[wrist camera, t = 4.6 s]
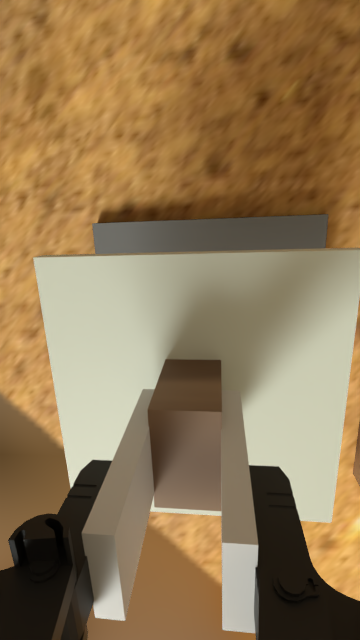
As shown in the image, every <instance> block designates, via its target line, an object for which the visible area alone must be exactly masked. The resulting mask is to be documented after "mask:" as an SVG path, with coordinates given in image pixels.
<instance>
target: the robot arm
mask: <svg viewBox="0 0 360 640" xmlns="http://www.w3.org/2000/svg"><path fill="white" fill-rule="evenodd" d="M154 390H155V389H143V390H142V392H141V395H140V397H139V399H138V402H137V404H136V406H135V409H134V411H133V413H132V416H131V418H130V420H129V423H128V425H127V427H126V430H125V432H124V434H123V437H122V439H121V442H120V444H119V446H118V449H117V451H116V453H115V456H114V458H113V460H112V461H111V460H92V461H91V462H89V463H88V464H87V465H86V466H85V467H84V468H83V469H82V470H81V471H80V473H79V474H78V476H77V478H76V480H75V482H74V484H73V487H72V488H71V489H70V491H69V493H68V497H67V498H66V499H65V501H64V503H63V504H62V506H61V508H60V510H59V512H58V514H57V515H56V514H44V515H39V516H36V517H34V518H32V519H30V520H28V521H26V522H24V523H23V524H22V525H21V526H19V527H18V528H17V529H16V530H15V531H14V533H13V534H12V535H11V537H10V538H9V540H8V541H9V545H10V549H11V553H12V557H13V561H14V565H15V566H14V567H10V568H8V569H5V570H1V571H0V640H87V636H88V635H87V634H88V631H87V625H86V623H87V620H88V617H89V614H90V611H91V608H92V605H93V607H94V613H95V618H103V619H114V620H124V621H125V619H126V615H127V610H128V606H129V601H130V597H131V593H132V588H133V584H134V579H135V575H136V571H137V566H138V561H139V558H140V553H141V549H142V545H143V540H144V535H145V531H146V527H147V523H148V518H149V514H150V509H151V505H152V501H153V496H154V482H153V469H152V456H151V444H150V431H149V425H148V411H147V410H148V407H149V404H150V401H151V398H152V396H153V393H154ZM221 515H222V621H223V622H222V627H223V628H222V630H228V631H239V632H249V633H255V632H256V640H360V601H358V600H355V599H353V598H350V597H348V596H346V595H344V594H342V593H340V592H338V591H336V590H335V589H333V588H332V587H331V586H329V585H328V584H327V583H326V582H325V581H324V580H323V579H322V578H321V577H320V576H319V575H318V573H317V571H316V570H315V568H314V567H313V565H312V562H311V559H310V557H309V553H308V549H307V545H306V541H305V537H304V534H303V530H302V526H301V522H300V518H299V515H298V511H297V509H296V503H295V499H294V497H293V492H292V488H291V484H290V480H289V478H288V477H287V476H286V475H285V473H284V472H283V471H282V470H281V468H280V467H279V466H256V465H249V462H248V454H247V445H246V437H245V428H244V420H243V411H242V403H241V394H240V391H227V390H222V429H221Z"/></svg>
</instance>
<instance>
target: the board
mask: <svg viewBox="0 0 360 640" xmlns="http://www.w3.org/2000/svg"><path fill="white" fill-rule="evenodd" d="M353 474H354V476H355V478H356V480H357V482H358V484H359V486H360V424H359V431H358V439H357V447H356V455H355V462H354V470H353Z"/></svg>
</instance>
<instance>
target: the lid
mask: <svg viewBox="0 0 360 640" xmlns="http://www.w3.org/2000/svg"><path fill="white" fill-rule="evenodd" d="M33 259H34V265H35V271H36V277H37V284H38V290H39V296H40V302H41V308H42V314H43V321H44V327H45V333H46V339H47V345H48V351H49V358H50V364H51V370H52V376H53V382H54V388H55V395H56V401H57V407H58V413H59V419H60V425H61V432H62V438H63V444H64V450H65V456H66V462H67V468H68V474H69V481H70V487H71V488H72V487H73V484H74V482H75V480H76V478H77V476H78V474H79V473H80V471H81V470H82V469H83V468H84V467H85V466H86V465H87V464H88V463H89V462H91V461H92V460H111V461H112V460H113V458H114V456H115V453H116V451H117V449H118V446H119V444H120V442H121V439H122V437H123V434H124V432H125V430H126V427H127V425H128V423H129V420H130V418H131V416H132V413H133V411H134V409H135V406H136V404H137V402H138V399H139V397H140V395H141V392H142V390H143V389H155V390H154V393H153V396H152V398H151V401H150V404H149V407H148V410H147V411H148V425H149V431H150V444H151V456H152V469H153V482H154V496H153V501H152V505H151V509H150V511H152V512H168V513H184V514H200V515H216V516H222V515H221V429H222V390H227V391H240V394H241V403H242V411H243V420H244V428H245V437H246V445H247V454H248V462H249V465H256V466H279V467H280V468H281V470H282V471H283V472H284V473H285V475H286V476H287V477H288V478H289V480H290V484H291V488H292V492H293V497H294V499H295V503H296V509H297V511H298V515H299V518H300V521H313V522H329V523H331V522H332V514H333V506H334V498H335V490H336V482H337V474H338V466H339V458H340V450H341V442H342V434H343V426H344V418H345V410H346V402H347V394H348V385H349V377H350V369H351V361H352V353H353V345H354V337H355V329H356V321H357V313H358V305H359V297H360V248H322V249H281V250H239V251H198V252H157V253H116V254H75V255H42V256H38V257H34V258H33Z"/></svg>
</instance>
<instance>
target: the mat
mask: <svg viewBox="0 0 360 640" xmlns="http://www.w3.org/2000/svg"><path fill="white" fill-rule="evenodd" d="M92 225H93V235H94V244H95V253H96V254H116V253H157V252H198V251H239V250H281V249H322V248H326V237H327V225H328V214H322V215H297V216H271V217H246V218H220V219H194V220H169V221H143V222H117V223H94V224H92Z"/></svg>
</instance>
